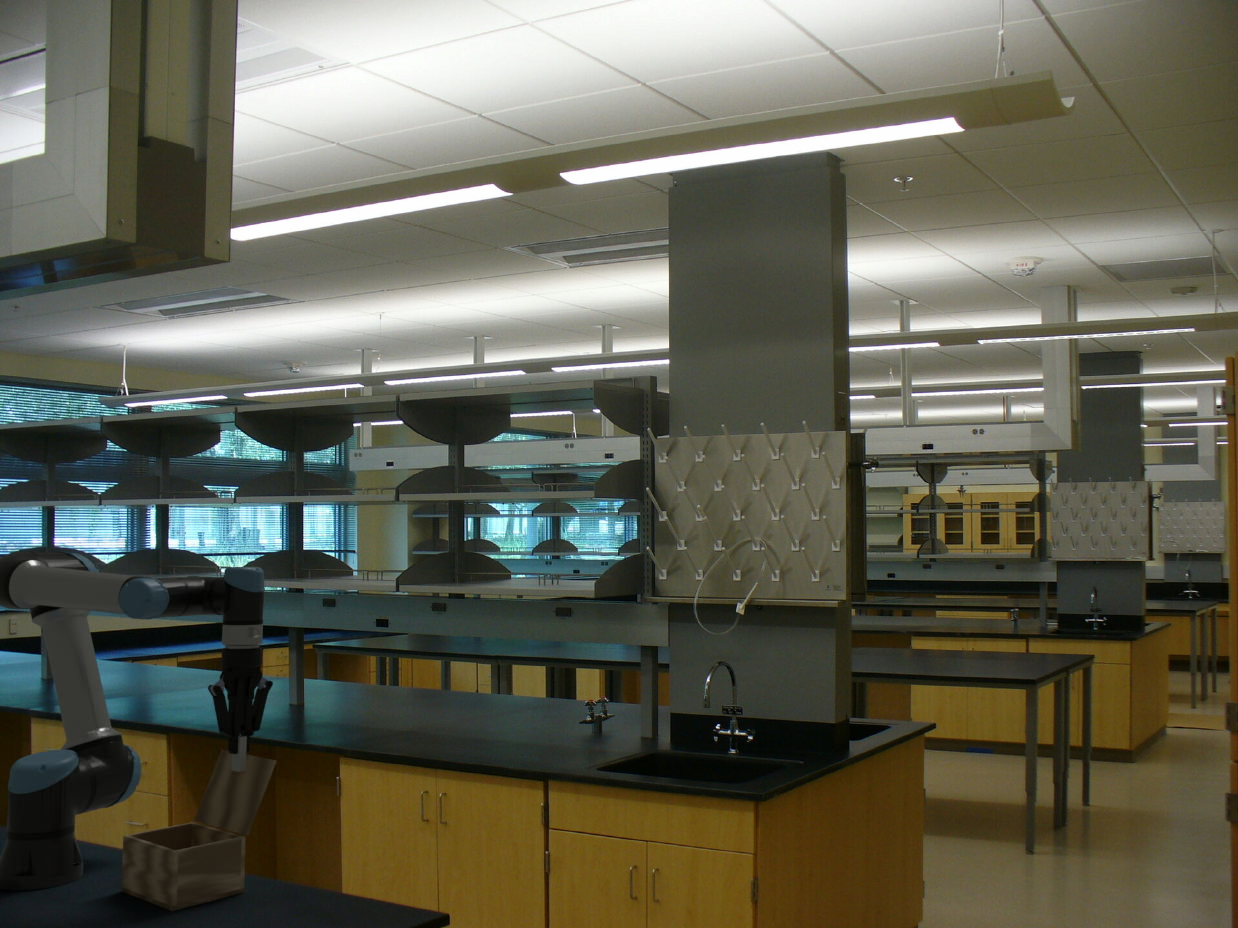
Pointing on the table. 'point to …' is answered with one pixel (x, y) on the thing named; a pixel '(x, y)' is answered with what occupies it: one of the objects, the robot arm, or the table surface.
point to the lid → (235, 793)
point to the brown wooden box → (183, 865)
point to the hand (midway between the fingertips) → (238, 770)
